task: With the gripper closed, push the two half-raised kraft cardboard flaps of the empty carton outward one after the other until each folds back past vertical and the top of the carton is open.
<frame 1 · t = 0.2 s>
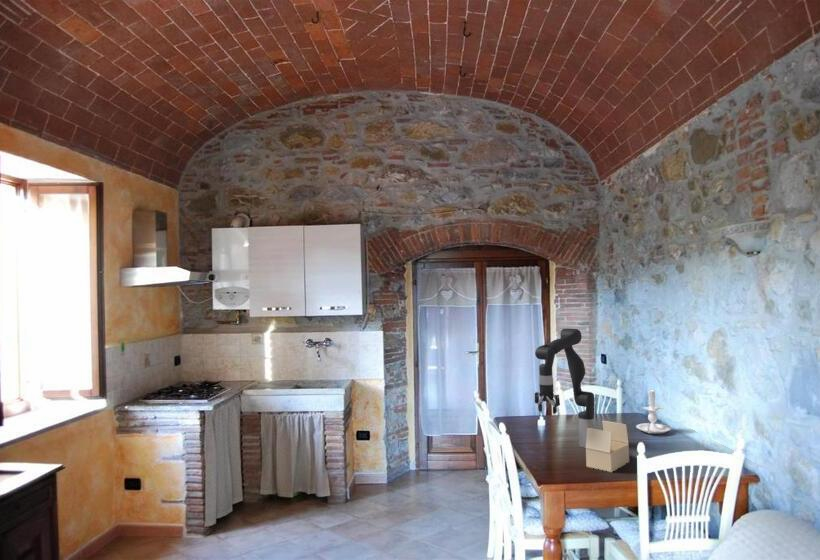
hand: (547, 412, 290), 29 cm above the table, tool pointing down, fingers open, 8 cm apart
candlestick: (652, 433, 343), on the table
tin: (615, 456, 301), on the table
back flap: (615, 431, 295), point 16 cm above the table, hinge at 80.0°
carton: (608, 464, 287), on the table
front flap: (598, 440, 281), point 16 cm above the table, hinge at 75.0°
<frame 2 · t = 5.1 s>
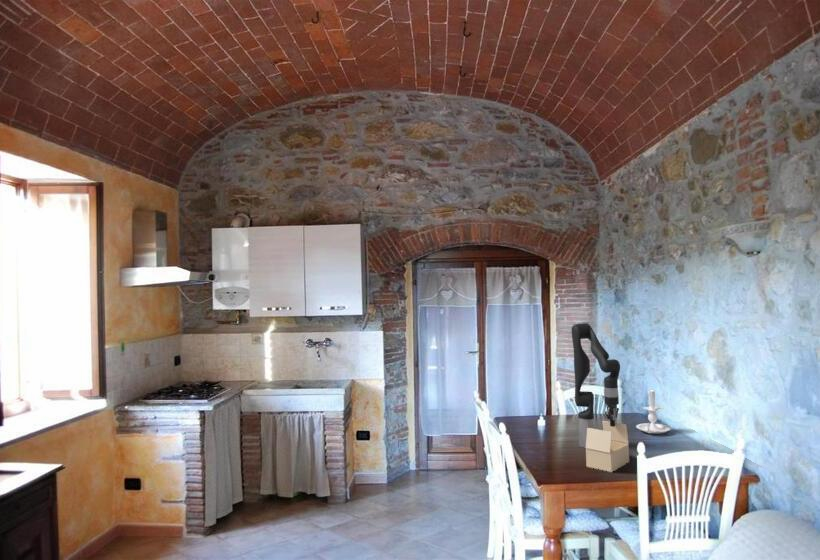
hand: (612, 426, 293), 19 cm above the table, tool pointing down, fingers closed
back flap: (615, 431, 295), point 16 cm above the table, hinge at 80.0°, touching gripper
everything else where it was.
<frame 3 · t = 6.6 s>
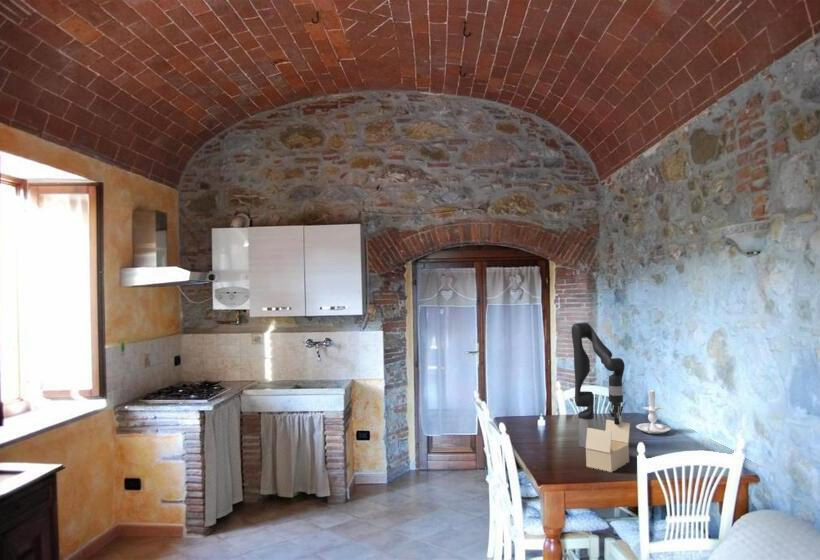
hand: (616, 424, 296), 19 cm above the table, tool pointing down, fingers closed
back flap: (617, 431, 296), point 15 cm above the table, hinge at 106.6°, touching gripper
everything else where it was.
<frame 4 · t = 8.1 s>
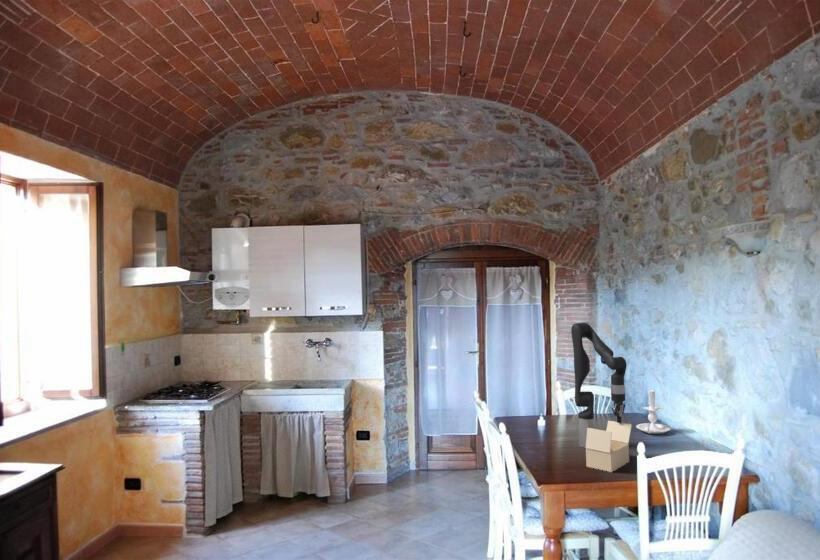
hand: (619, 422, 298), 20 cm above the table, tool pointing down, fingers closed
back flap: (618, 431, 297), point 15 cm above the table, hinge at 120.3°, touching gripper
everything else where it was.
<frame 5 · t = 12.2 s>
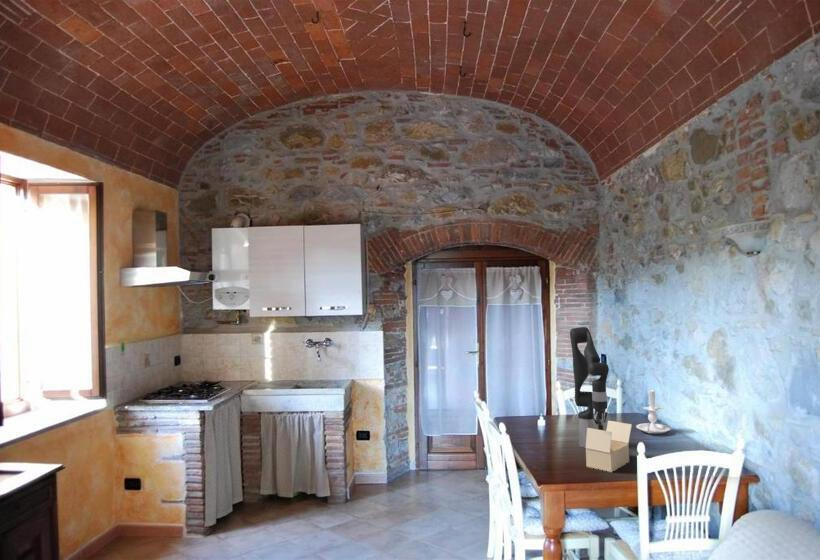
hand: (600, 431, 283), 19 cm above the table, tool pointing down, fingers closed
back flap: (618, 431, 297), point 15 cm above the table, hinge at 120.5°
front flap: (598, 440, 281), point 16 cm above the table, hinge at 75.6°, touching gripper
everything else where it was.
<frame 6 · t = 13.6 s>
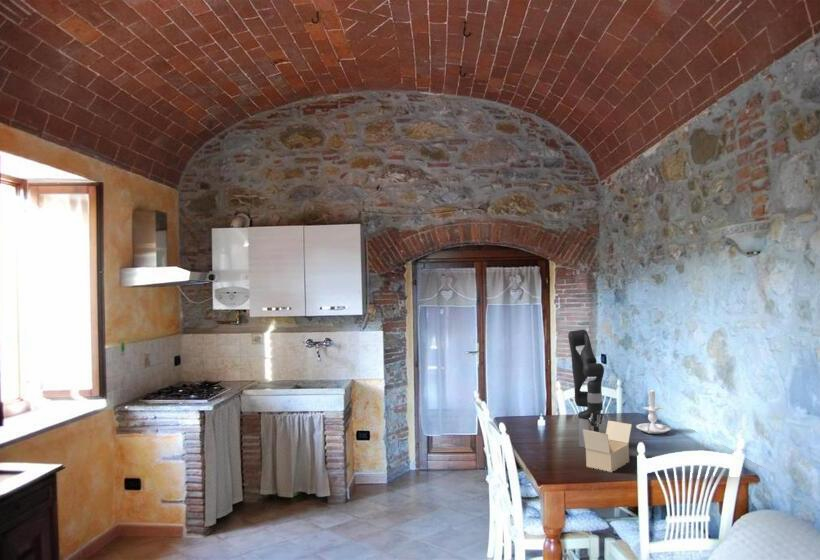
hand: (596, 433, 279), 20 cm above the table, tool pointing down, fingers closed
front flap: (596, 441, 279), point 16 cm above the table, hinge at 102.5°, touching gripper
everything else where it was.
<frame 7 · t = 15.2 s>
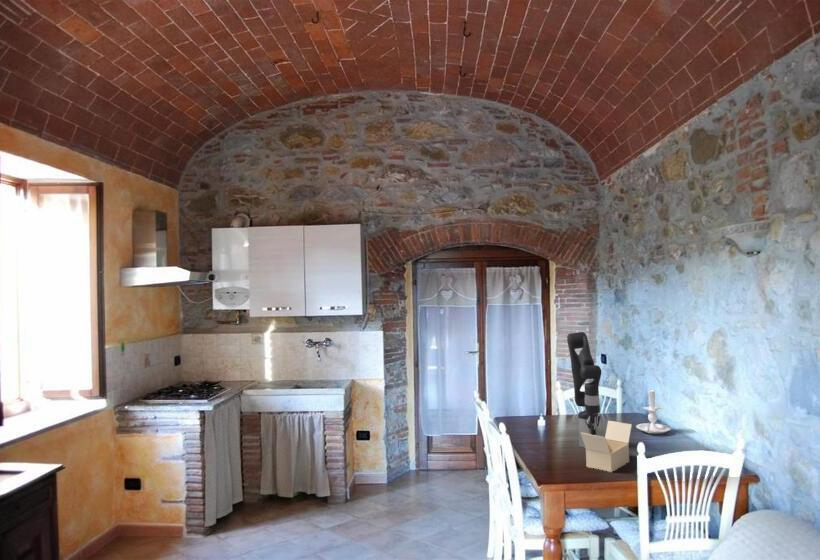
hand: (593, 435, 277), 19 cm above the table, tool pointing down, fingers closed
front flap: (595, 442, 278), point 15 cm above the table, hinge at 117.8°, touching gripper
everything else where it was.
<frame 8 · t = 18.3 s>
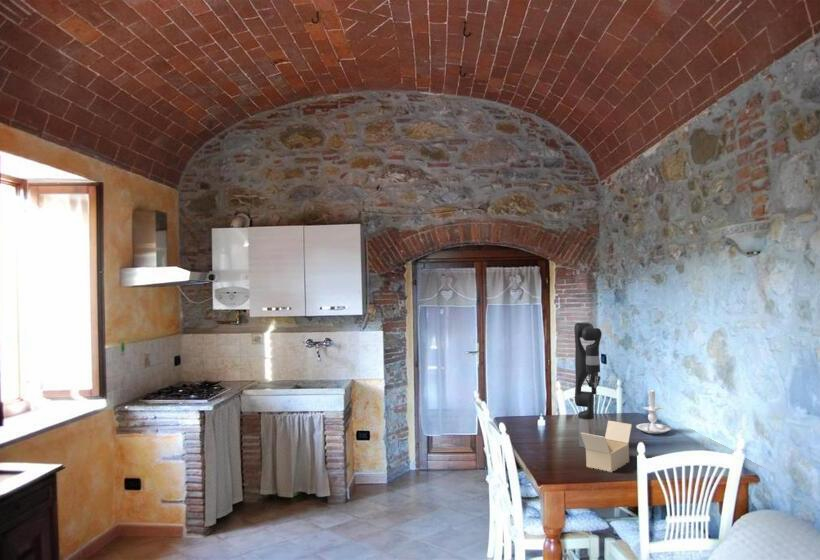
hand: (594, 394, 296), 37 cm above the table, tool pointing down, fingers closed
front flap: (595, 442, 278), point 15 cm above the table, hinge at 118.1°
everything else where it was.
at the end: back flap at +120° (first picture: +80°); front flap at +118° (first picture: +75°) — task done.
